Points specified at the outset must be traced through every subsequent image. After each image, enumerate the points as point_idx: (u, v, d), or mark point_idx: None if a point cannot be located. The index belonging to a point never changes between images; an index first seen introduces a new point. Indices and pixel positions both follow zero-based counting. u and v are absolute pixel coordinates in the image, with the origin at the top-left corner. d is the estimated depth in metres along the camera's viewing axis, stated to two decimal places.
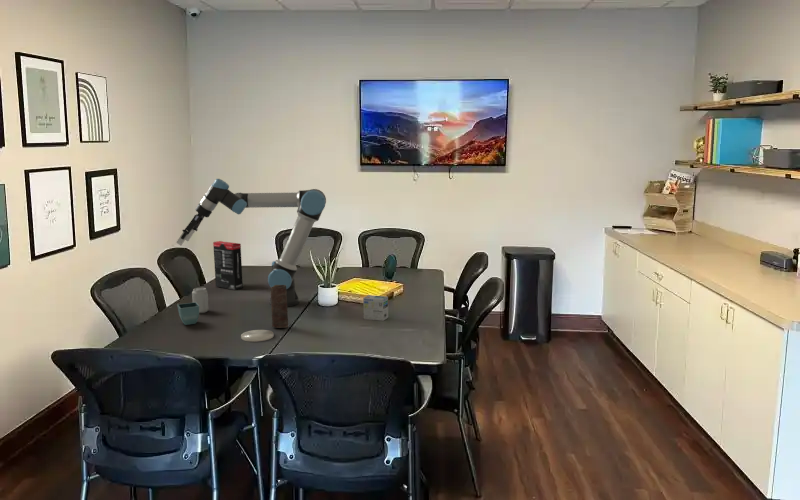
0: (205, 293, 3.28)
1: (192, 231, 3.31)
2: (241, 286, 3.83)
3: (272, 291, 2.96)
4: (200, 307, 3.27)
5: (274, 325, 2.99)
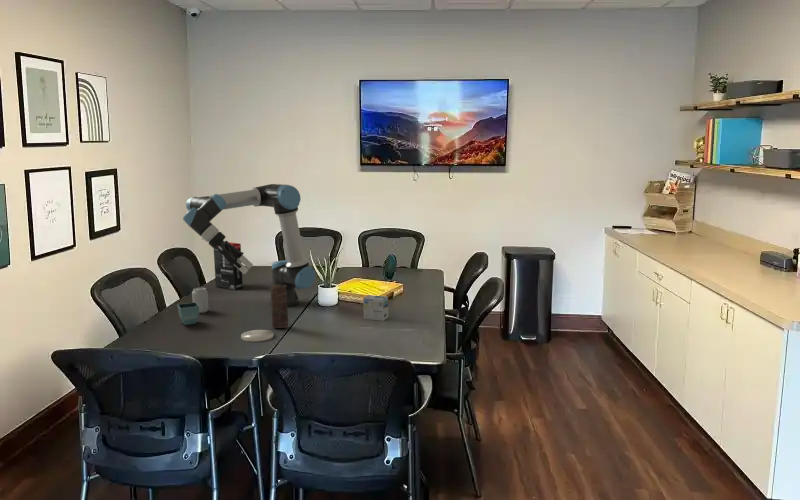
0: (205, 293, 3.28)
1: (242, 257, 3.01)
2: (241, 286, 3.83)
3: (272, 291, 2.96)
4: (200, 307, 3.27)
5: (274, 325, 2.99)
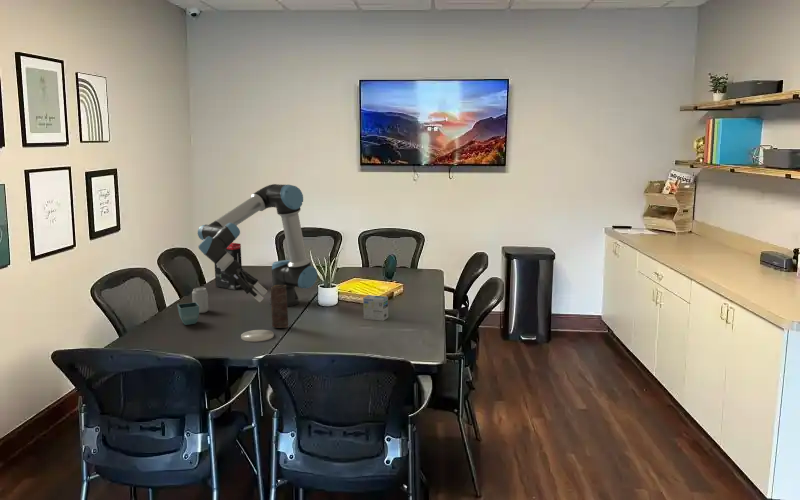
0: (205, 293, 3.28)
1: (257, 284, 3.03)
2: None
3: (272, 291, 2.96)
4: (200, 307, 3.27)
5: (274, 325, 2.99)
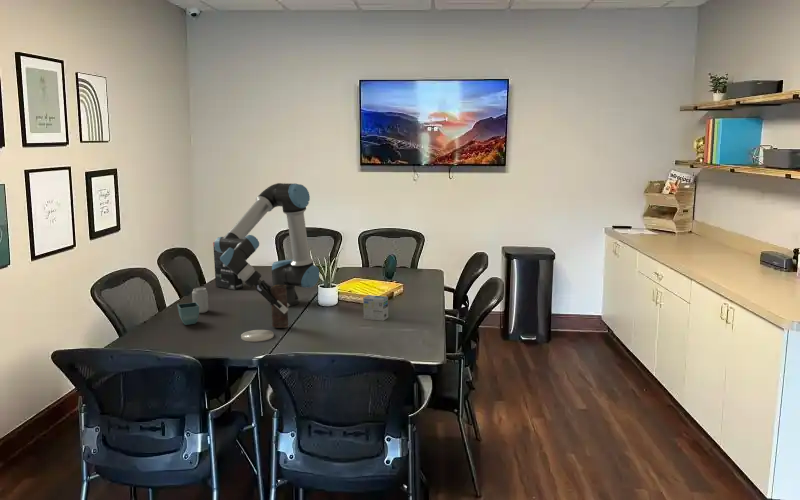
0: (205, 293, 3.28)
1: None
2: (241, 286, 3.83)
3: (272, 291, 2.96)
4: (200, 307, 3.27)
5: (274, 325, 2.99)
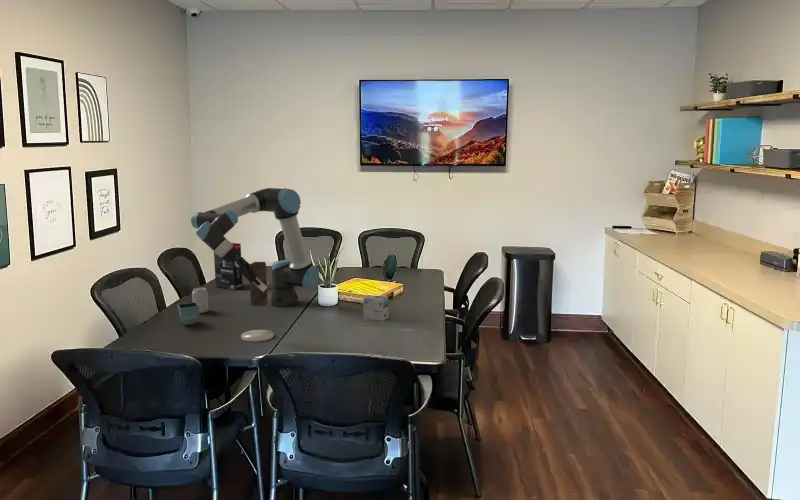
0: (205, 293, 3.28)
1: None
2: (241, 286, 3.83)
3: (251, 267, 2.82)
4: (200, 307, 3.27)
5: (252, 304, 2.84)
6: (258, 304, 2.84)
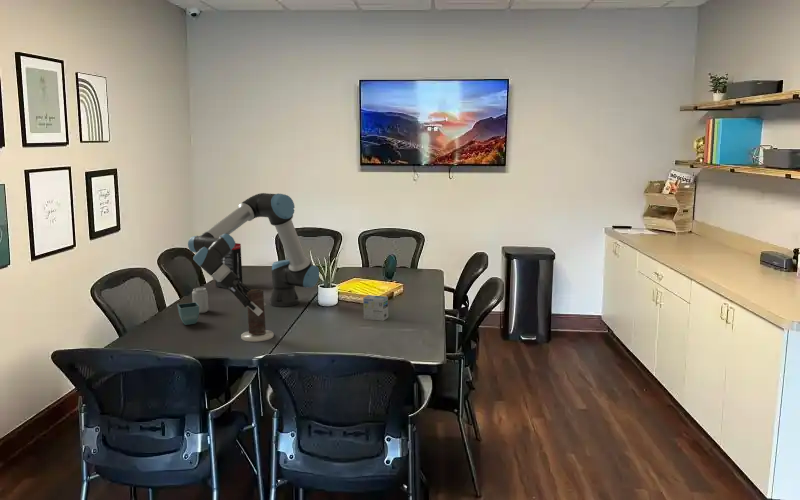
0: (205, 293, 3.28)
1: None
2: None
3: (248, 296, 2.81)
4: (200, 307, 3.27)
5: (250, 332, 2.84)
6: (256, 332, 2.84)
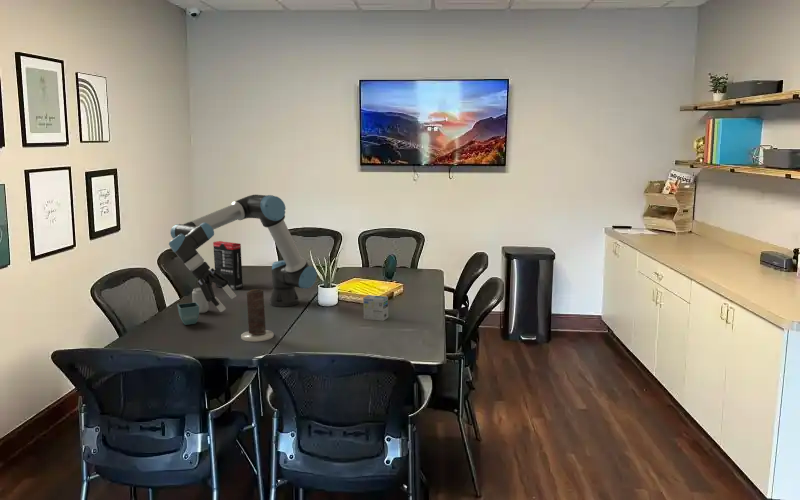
0: None
1: (226, 287, 2.92)
2: (241, 286, 3.83)
3: (248, 296, 2.81)
4: (200, 307, 3.27)
5: (250, 332, 2.84)
6: (256, 332, 2.84)
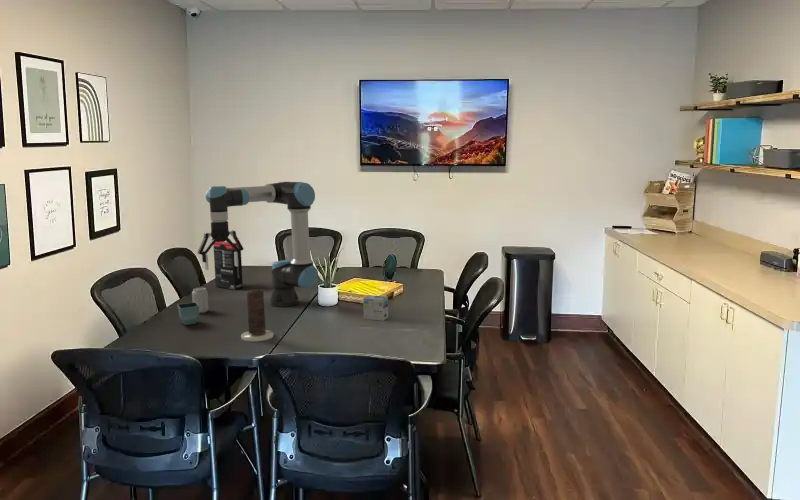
0: (205, 293, 3.28)
1: (235, 254, 2.97)
2: (241, 286, 3.83)
3: (248, 296, 2.81)
4: (200, 307, 3.27)
5: (250, 332, 2.84)
6: (256, 332, 2.84)
